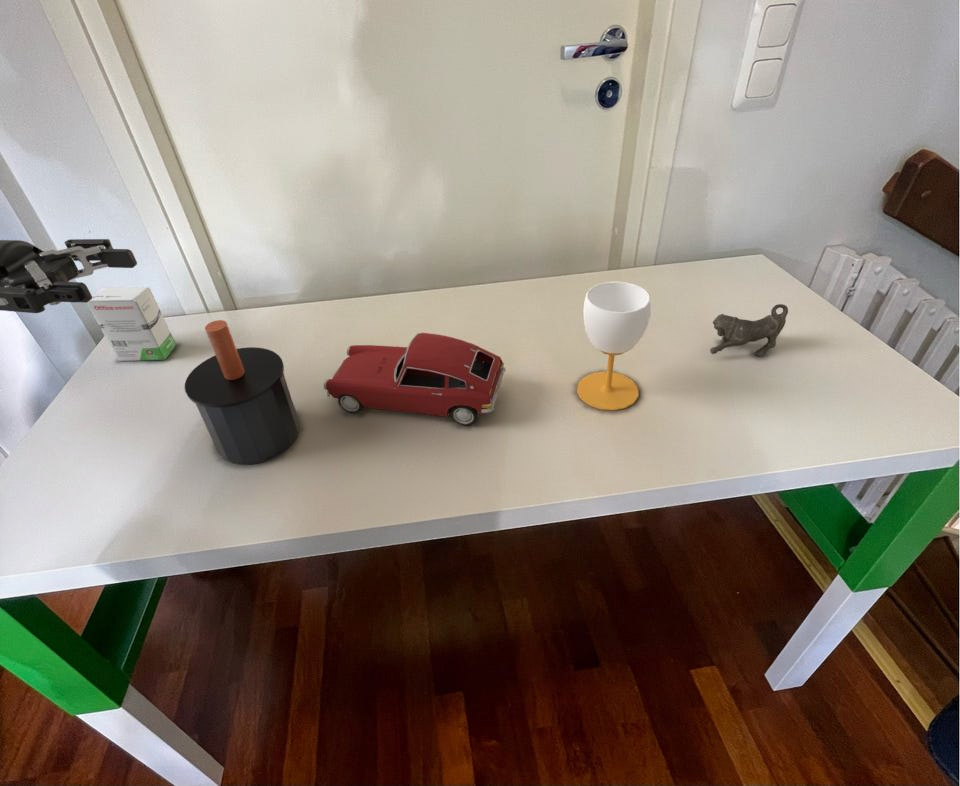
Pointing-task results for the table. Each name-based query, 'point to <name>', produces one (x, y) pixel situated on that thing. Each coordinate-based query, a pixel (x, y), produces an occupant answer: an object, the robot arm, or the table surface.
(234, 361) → the lid
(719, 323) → the dog figurine
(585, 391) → the cup
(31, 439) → the table surface
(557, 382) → the table surface
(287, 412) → the canister
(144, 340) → the ink box
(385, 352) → the toy car
